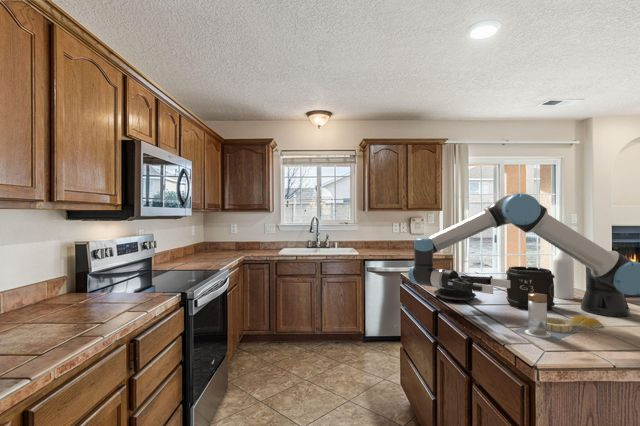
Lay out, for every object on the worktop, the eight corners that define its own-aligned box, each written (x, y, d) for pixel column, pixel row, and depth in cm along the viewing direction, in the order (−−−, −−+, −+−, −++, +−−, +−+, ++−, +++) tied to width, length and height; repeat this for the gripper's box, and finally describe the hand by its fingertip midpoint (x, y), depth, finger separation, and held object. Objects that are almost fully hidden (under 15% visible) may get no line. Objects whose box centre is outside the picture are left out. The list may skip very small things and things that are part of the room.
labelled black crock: (540, 301, 157) (540, 266, 157) (564, 312, 139) (563, 272, 139) (498, 300, 158) (498, 265, 159) (516, 311, 141) (516, 272, 141)
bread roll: (582, 323, 125) (581, 312, 125) (608, 331, 116) (608, 319, 116) (563, 325, 123) (563, 314, 123) (588, 333, 114) (588, 321, 114)
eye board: (541, 324, 123) (541, 314, 123) (581, 334, 113) (581, 323, 113) (511, 335, 112) (511, 324, 112) (553, 347, 102) (553, 335, 102)
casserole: (432, 290, 179) (432, 274, 179) (472, 293, 173) (472, 276, 173) (434, 302, 155) (434, 283, 155) (480, 305, 149) (480, 286, 149)
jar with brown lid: (541, 330, 112) (541, 292, 112) (550, 335, 107) (550, 296, 107) (525, 330, 112) (525, 292, 112) (533, 335, 107) (533, 296, 107)
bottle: (556, 298, 161) (555, 233, 161) (550, 295, 168) (550, 232, 169) (577, 300, 158) (576, 234, 158) (569, 296, 166) (569, 233, 166)
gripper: (461, 284, 145) (516, 292, 128) (427, 293, 129) (484, 304, 112) (461, 266, 145) (516, 272, 128) (427, 273, 129) (484, 280, 112)
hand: (501, 287), depth 120 cm, fingers open, 13 cm apart
